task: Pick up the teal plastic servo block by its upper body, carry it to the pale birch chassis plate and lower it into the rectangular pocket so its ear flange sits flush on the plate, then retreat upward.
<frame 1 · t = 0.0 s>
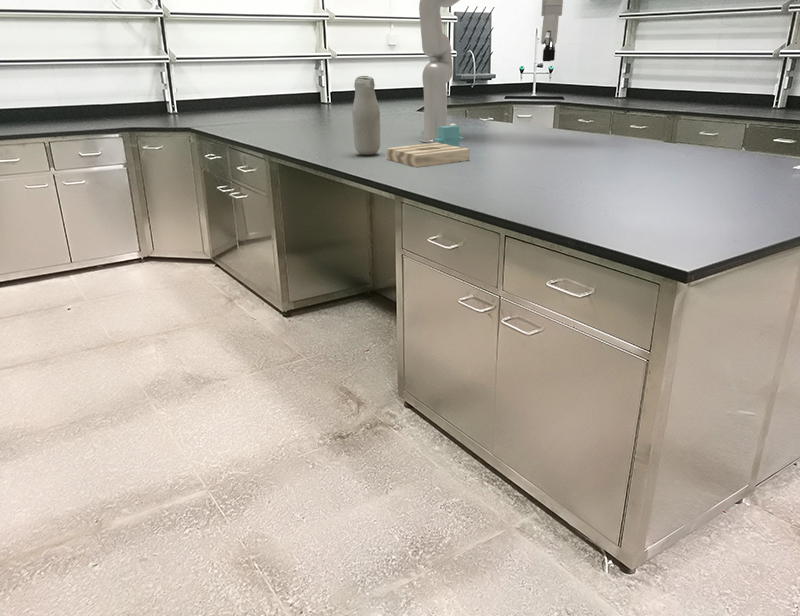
hand: (548, 60, 240), 31 cm above the worktop, tool pointing down, fingers open, 9 cm apart
servo: (448, 150, 242), on the worktop
chassis: (427, 159, 223), on the worktop
grey bottle: (367, 155, 236), on the worktop
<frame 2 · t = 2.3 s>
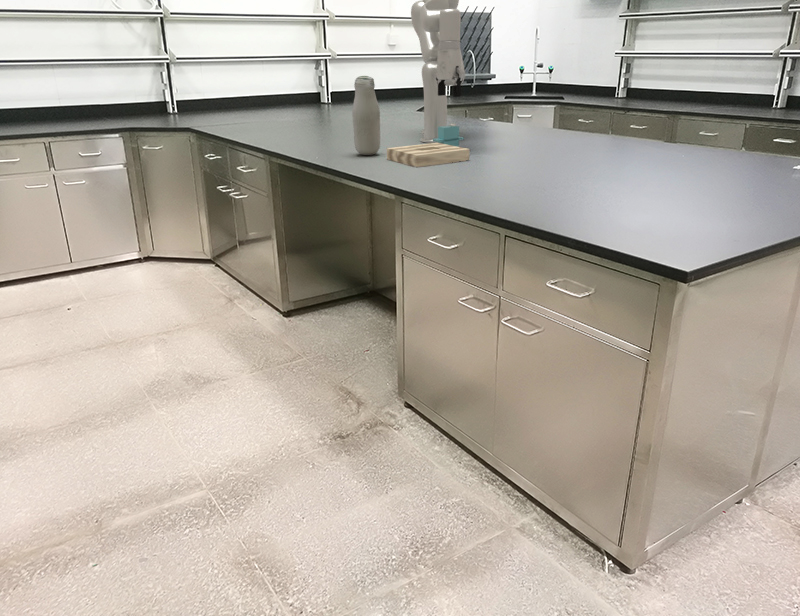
hand: (449, 96, 234), 20 cm above the worktop, tool pointing down, fingers open, 9 cm apart
nothing on the worktop moved.
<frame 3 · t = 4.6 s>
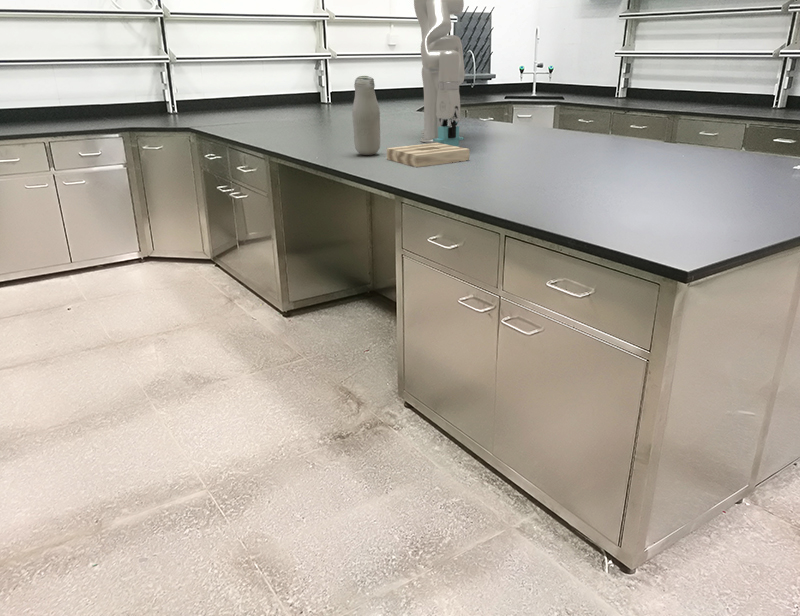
hand: (448, 136, 240), 5 cm above the worktop, tool pointing down, fingers closed on servo, 4 cm apart
servo: (448, 150, 242), on the worktop, touching gripper
everything else where it was.
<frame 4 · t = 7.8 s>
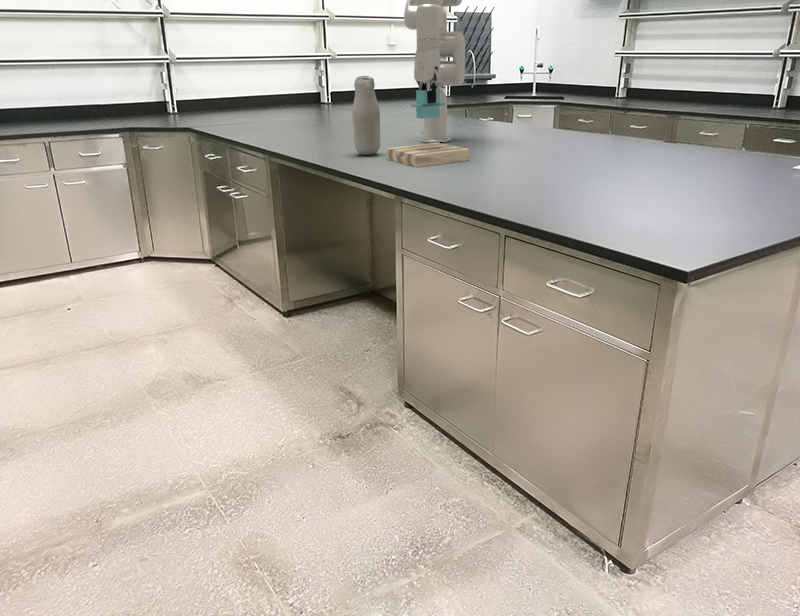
hand: (428, 102, 216), 20 cm above the worktop, tool pointing down, fingers closed on servo, 4 cm apart
servo: (428, 117, 218), point 14 cm above the worktop, touching gripper
everything else where it was.
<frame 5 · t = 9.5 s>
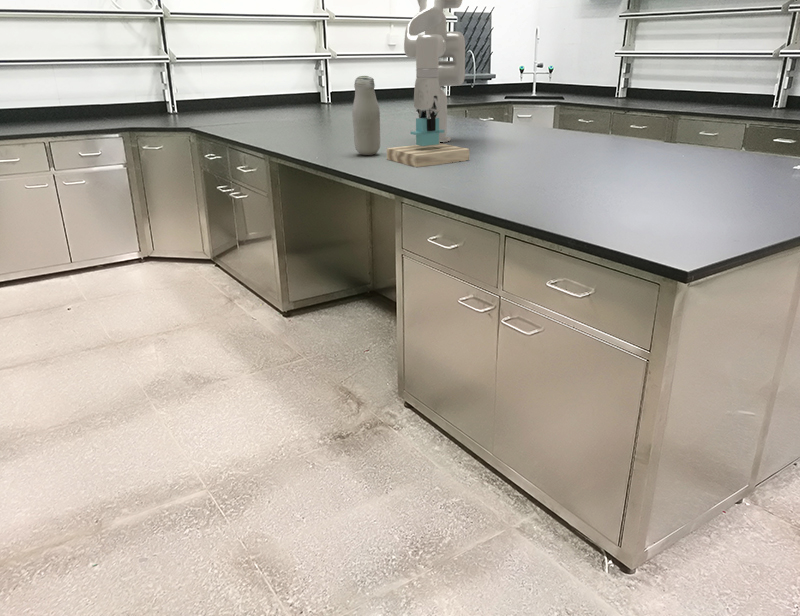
hand: (427, 129, 219), 10 cm above the worktop, tool pointing down, fingers closed on servo, 4 cm apart
servo: (427, 144, 221), point 5 cm above the worktop, touching gripper
everything else where it was.
when the fingers open (6 cm above the worktop, at t = 11.1 s): servo stays where it is, resting on chassis.
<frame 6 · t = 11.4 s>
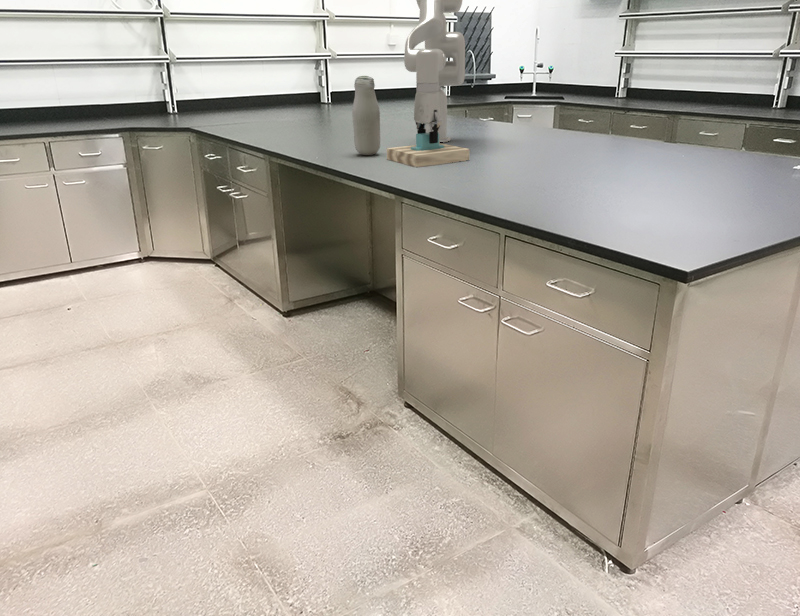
hand: (427, 141, 221), 6 cm above the worktop, tool pointing down, fingers open, 7 cm apart
servo: (427, 159, 224), resting on chassis
everything else where it was.
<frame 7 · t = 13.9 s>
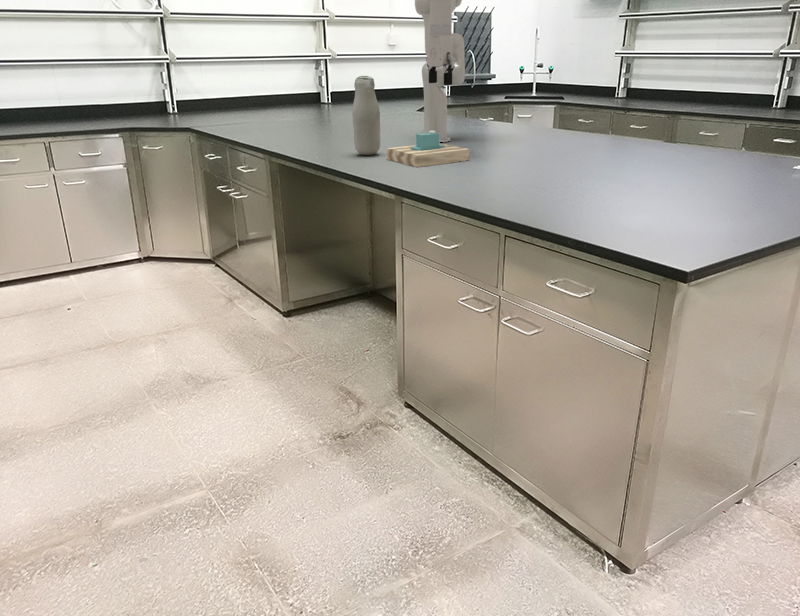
hand: (440, 83, 222), 25 cm above the worktop, tool pointing down, fingers open, 9 cm apart
nothing on the worktop moved.
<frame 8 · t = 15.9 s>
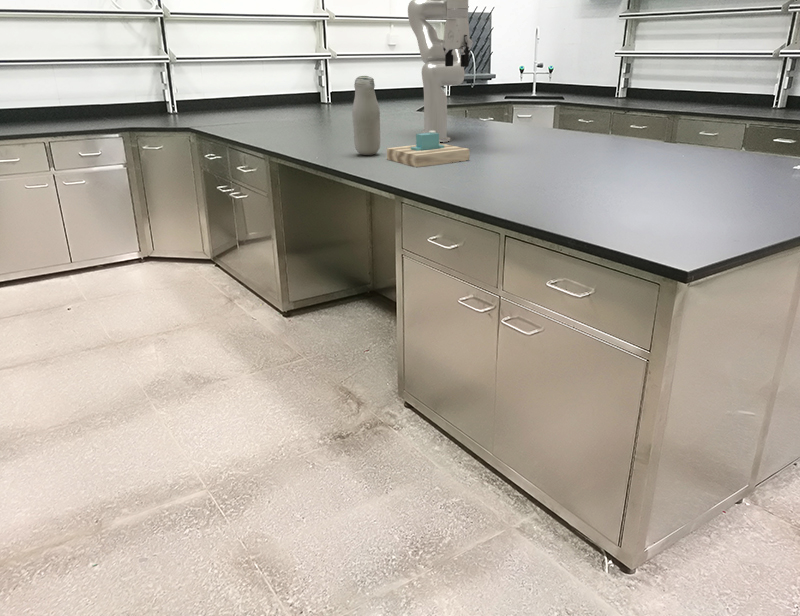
hand: (456, 66, 230), 30 cm above the worktop, tool pointing down, fingers open, 9 cm apart
nothing on the worktop moved.
at the end: servo 0.1 cm off-centre on the chassis, point 0.0 cm above the chassis's base; servo tilted 0°; the gripper is holding nothing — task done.
